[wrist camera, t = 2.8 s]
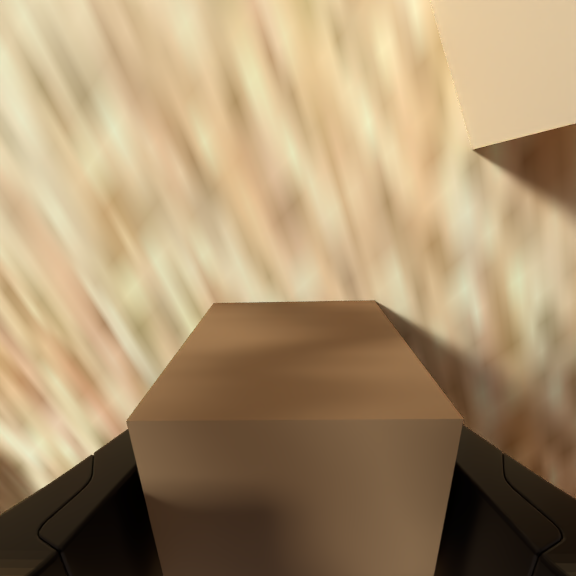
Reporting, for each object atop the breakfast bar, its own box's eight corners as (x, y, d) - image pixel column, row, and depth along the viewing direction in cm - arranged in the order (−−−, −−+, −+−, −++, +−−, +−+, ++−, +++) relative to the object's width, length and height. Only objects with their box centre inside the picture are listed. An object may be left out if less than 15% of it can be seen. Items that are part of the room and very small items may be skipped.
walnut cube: (374, 300, 9) (463, 418, 4) (365, 430, 11) (423, 625, 6) (213, 303, 9) (126, 421, 4) (227, 431, 11) (174, 621, 6)
